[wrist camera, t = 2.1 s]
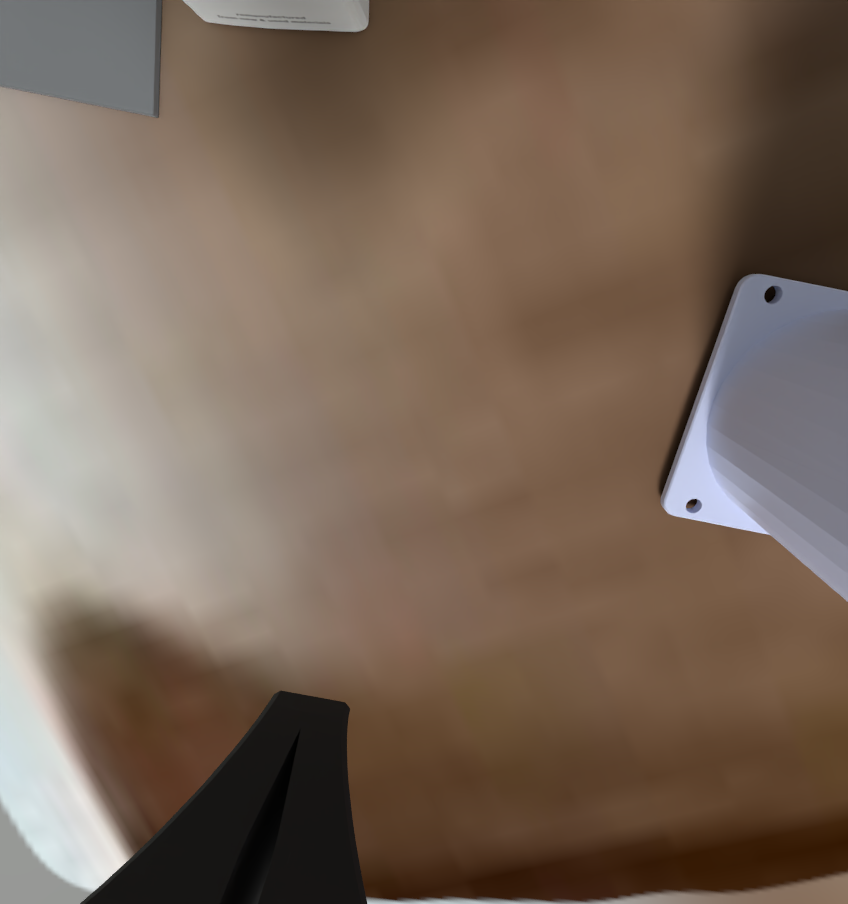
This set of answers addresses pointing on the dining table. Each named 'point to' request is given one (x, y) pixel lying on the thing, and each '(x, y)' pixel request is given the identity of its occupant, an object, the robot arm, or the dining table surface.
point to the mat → (84, 51)
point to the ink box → (286, 13)
